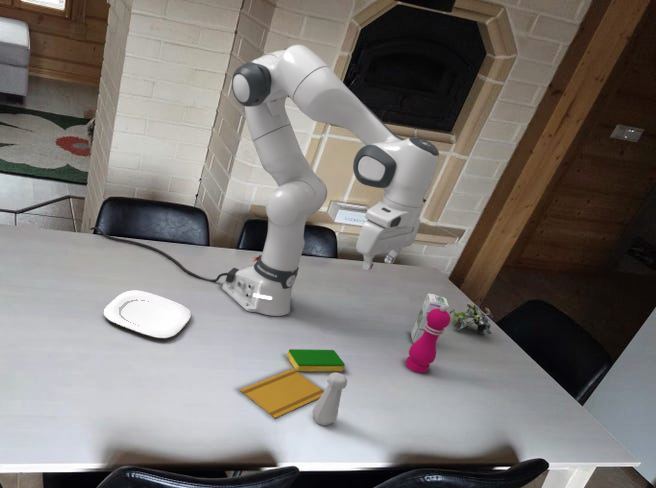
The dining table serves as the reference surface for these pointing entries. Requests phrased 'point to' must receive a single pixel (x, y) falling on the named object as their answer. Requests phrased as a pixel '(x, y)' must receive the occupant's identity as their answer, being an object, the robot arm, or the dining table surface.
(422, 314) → the syrup box
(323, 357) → the dish sponge
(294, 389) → the cloth
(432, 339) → the pepper mill
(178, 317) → the plate
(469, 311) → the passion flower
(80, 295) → the dining table surface
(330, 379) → the salt shaker
